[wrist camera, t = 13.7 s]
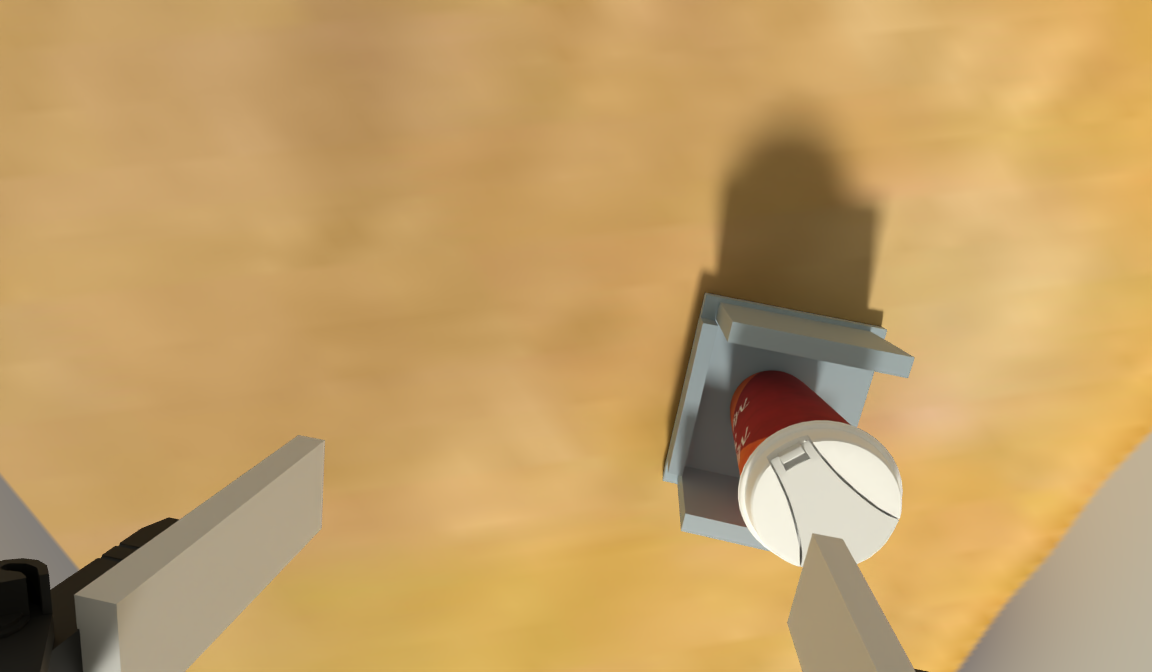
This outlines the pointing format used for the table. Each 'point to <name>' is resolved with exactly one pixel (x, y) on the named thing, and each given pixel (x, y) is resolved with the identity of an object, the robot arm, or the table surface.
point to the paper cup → (809, 471)
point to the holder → (733, 353)
